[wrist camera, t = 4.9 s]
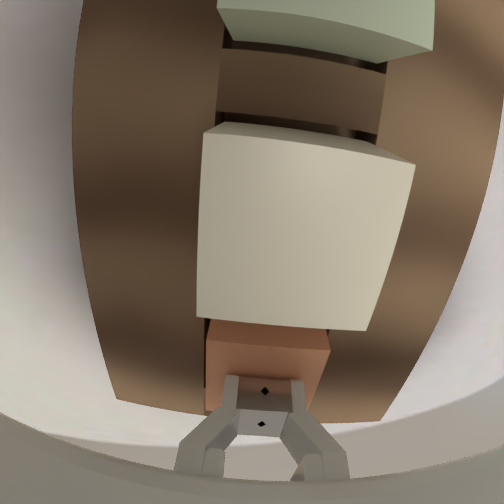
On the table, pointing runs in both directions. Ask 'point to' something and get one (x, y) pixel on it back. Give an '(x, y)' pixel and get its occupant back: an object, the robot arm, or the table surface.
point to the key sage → (335, 25)
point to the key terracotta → (263, 355)
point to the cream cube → (296, 226)
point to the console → (280, 115)
